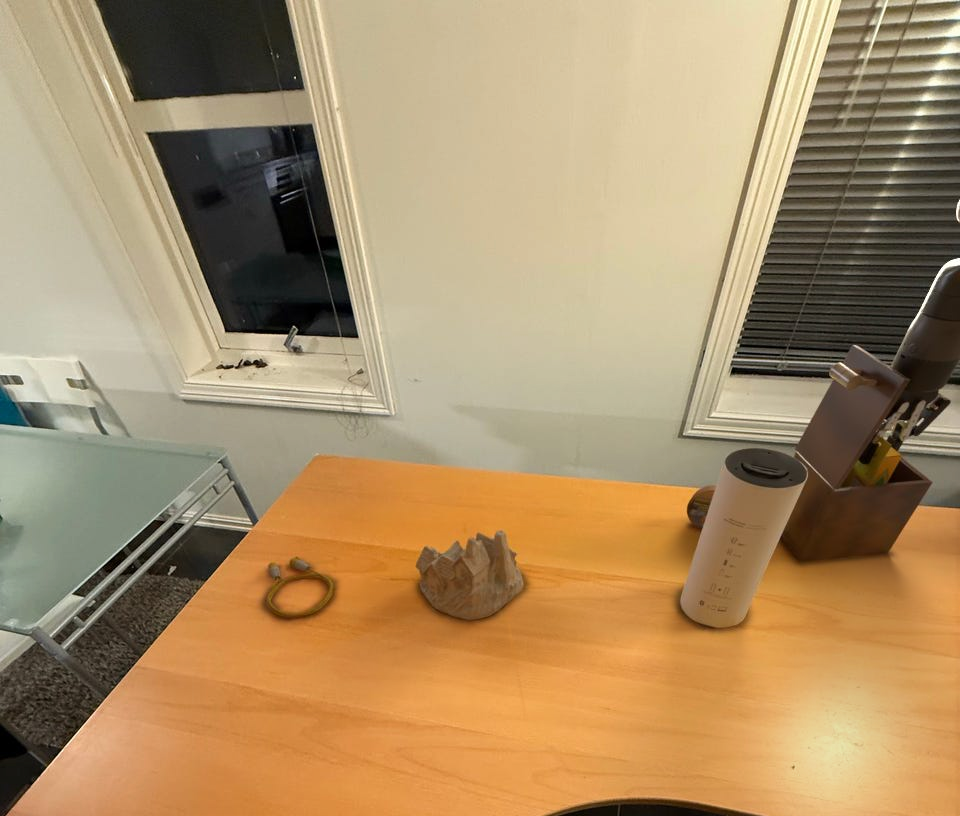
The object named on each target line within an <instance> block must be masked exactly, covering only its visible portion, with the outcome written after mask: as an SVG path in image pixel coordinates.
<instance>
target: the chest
mask: <svg viewBox="0 0 960 816" xmlns="http://www.w3.org/2000/svg"><path fill="white" fill-rule="evenodd" d="M793 457H794V458H796V459H797V460H799V461H800V462H801V463H802V464H803V465H804V466H805V467H806V468H807V469H808V470H807V472H808V477H807V480H806V482H805V484H804V487H803V489H802V491H801V493H800V495H799V498H798V500H797V502H796V504H795V506H794V508H793V511H792V513H791V515H790V517H789V519H788V521H787V524H786V526H785V528H784V530H783V532H782V535H781V537H780V539H782V541H783V542H784V543H785V544H786V546H787V547H788V549H790V551H791V552H792V553H793V554H794V556H795V557H796V558H797V560H798V561H799V562H800V563H807V562H808V563H809V562H818V561H826V560H827V561H828V560H835V559H837V560H838V559H848V558H857V557H866V556H877V555H878V556H879V555H885V554H889V552H890V551H891V549H892V548H893V546H894V545H895V543H896V541H897V540H898V538H899V537H900V535H901V533H902V532H903V530H904V528H905V527H906V525H907V524H908V522H909V521H910V519H911V518H912V516H913V514H914V513H915V511H916V510H917V508H918V506H919V505H920V503H921V501H922V500H923V499H924V497H925V495H926V494H927V492H928V491H929V490H930V488H931V486H932V484H933V481H932V480H930V479H929V478H928V477H927V476H926V475H924V474H923V473H922V472H921V471H919V470H918V469H917V468H916V467H915V466H913V465H912V464H911V463H910V462H909V461H907V460H906V459H905V458H903V456H902V457H901V459H900V461H899V463H898V464H897V466H896V468H895V470H894V471H893V473H892V475H891V477H890V479H889V480H888V482H887V484H878V485H868V486H858V487H847V488H839V489H834V488H833V487H832V486H831V485H830V484H829V483H828V482H827V481H826V480H825V479H824V478H823V477H822V476H821V475H820V474H819V473H818V472H817V471H816V470H815V469H814V468H813V467H812V466H811V465H810V464H809V463H808V462H807V461H806V460H805V459H804V458H803V457H802V456H801V455H800V454H799V453H798V452H797V451H795V453H794V455H793Z"/></svg>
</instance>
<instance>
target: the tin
mask: <svg viewBox="0 0 960 816" xmlns="http://www.w3.org/2000/svg"><path fill="white" fill-rule="evenodd" d="M716 485H717V484H710V485H709V484H708V485H706V486H703V487H701V488H699V489H697V490H696V492H694V494H693V495H692V496H691V498H690V500H689V501H688V503H687V507H686V514H687V518H688V520H689V522H690V523H691V524H692V525H693V526H694V527H695V528H698V529H701V530H702V529H703V526H704V523H705V520H706V517H707V513H708V510H709V507H710V504H711V501H712V498H713V495H714V491H715V488H716Z"/></svg>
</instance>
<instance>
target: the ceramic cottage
mask: <svg viewBox="0 0 960 816" xmlns="http://www.w3.org/2000/svg"><path fill="white" fill-rule="evenodd" d="M493 536H494V537H491V536H487V535H485V534H484V533H481V532H478V531H477V532H476V535H475V537H473V536H470V537H468V538H467V542H466V544H465V548H463V547H462V545H460V541H459V540H456V541H454V542H453V543H452V545H451V546H450V547H449V548H447V550H446V551H444V552H441V551H438V550H437V548H435V547H433V546H428V545H424V546H423V549H422V550H421V553H420V554H419V556H418V558H417V561H416V563H415V568H416V569H417V570H418V571H419V574H420V578H421V579H420V583H419V585H420V586H419V587H420V591H421V593H423V595H424V597H425V598H426V600H427V601H428V603H429V604H430V605H431V606H432V607H433V608H434V609H436V611H439V612H440V613H443V614H444V613H445V614H448V615H449V616H451V617H454V618H458V619H459V618H460V619H462V620H467V621H470V620H471V621H472V620H473V621H474V620H480V619H484V618H488V617H491V616H492V615H494V614H495V613H497V612H498V611H500V610H501V609H502V608H503V606H505V605H507V603H509V602H510V601H512V600H513V599H514V598H515V597H516V596H518V595H519V593H521V592H522V590H523V588H524V586H525V583H524V579H523V576H522V572H521V570H520V569H519V567H517V563H518V562H517V559H516V556H517V555H518V554H519V553H518V552H516V551H513V549H510V545H509V542H508V540H507V534H506V531H504V530H502V529H498V530H496V531H495V533H494V535H493Z"/></svg>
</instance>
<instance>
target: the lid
mask: <svg viewBox="0 0 960 816" xmlns="http://www.w3.org/2000/svg"><path fill="white" fill-rule="evenodd" d="M828 374H829V376H830V377H831V378H833V379H832V381H831V383H830V385H829V387H828V388H827V390H826V392H825V393H824V396H823V398H822V399H821V401H820V403H819V404H818V407H816V410H815V412H814V413H813V415H812V417H811V419H810V421H809V423H808V425H807V426H806V428H805V429H804V432H803V433H802V435H801V437H800V439H799V441H798V442H797V444H796V446H795V448H794V450H795V452H798V453H799V454H800V455H801V456H802V457H803V458H804V459H805V460H806V461H807V462H808V463H809V464H810V465H811V466H812V467H813V468H814V469H815V470H816V471H817V472H818V473H819V474H820V475H821V476H822V477H823V478H824V479H825V480H826V481H827V482H828V483H829V484H830V485H831V486H832V487H833V488H834V489H839V488H840V487H841V485H842V483H843V482H844V480H845V479H846V477H847V476H848V474H849V473H850V471H851V470H852V468H853V467H854V465H855V464H856V462H857V461H858V459H859V457H860V456H861V454H862V453H863V451H864V450H865V448H866V447H867V445H868V444H869V442H870V441H871V439H872V438H873V436H874V435H875V433H876V432H877V430H878V428H879V427H880V425H881V424H882V422H883V421H884V420H885V418H886V416H887V415H888V413H889V412H890V410H891V409H892V407H893V405H894V404H895V402H896V401H897V399H898V398H899V396H900V395H901V393H902V392H903V390H904V389H905V387H906V386H907V384H908V383H909V381H910V379H908V378H907V377H905V376H904V375H902V374H901V373H899V372H898V371H896V370H894V369H893V368H891V365H888V364H886V363H885V362H884V361H882V360H881V359H879V358H877V357H876V356H874V355H873V354H871V352H868V351H866V350H865V349H864V348H861V347H860V346H859V345H856V344H852V345H851V347H850V349H849V350H848V352H847V354H846V356H845V357H844V360H843V361H842V362H837V363H834V364H833V365H832V366H831V367H830V369H829V372H828Z"/></svg>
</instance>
